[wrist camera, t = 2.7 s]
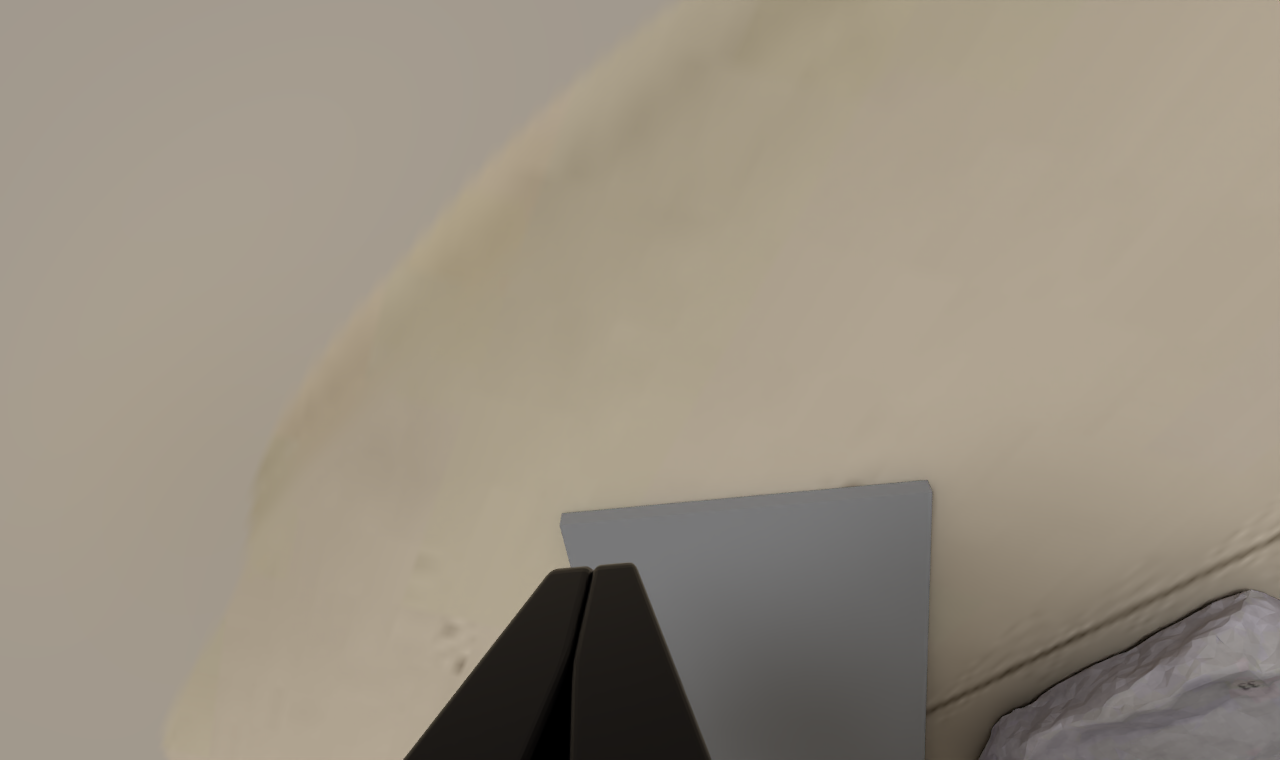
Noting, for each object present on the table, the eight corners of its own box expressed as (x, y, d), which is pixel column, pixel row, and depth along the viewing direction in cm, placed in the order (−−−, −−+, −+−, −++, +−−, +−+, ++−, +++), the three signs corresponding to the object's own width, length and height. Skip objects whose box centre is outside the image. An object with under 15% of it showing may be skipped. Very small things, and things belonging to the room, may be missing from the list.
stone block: (921, 734, 30) (1162, 863, 30) (938, 857, 25) (1219, 1007, 26) (1159, 496, 24) (1451, 656, 25) (1231, 601, 20) (1583, 794, 20)
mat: (927, 480, 22) (932, 491, 22) (919, 795, 29) (923, 808, 29) (561, 513, 23) (559, 525, 23) (638, 808, 30) (638, 821, 30)
